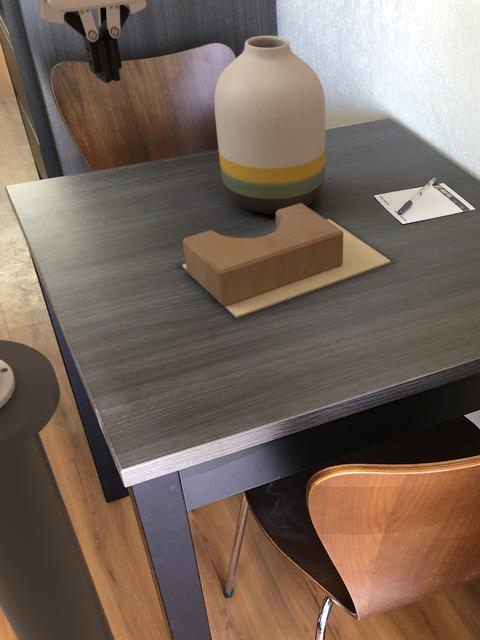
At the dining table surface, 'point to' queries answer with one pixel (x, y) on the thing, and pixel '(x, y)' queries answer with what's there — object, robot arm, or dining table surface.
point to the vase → (270, 127)
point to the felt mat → (316, 276)
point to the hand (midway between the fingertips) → (107, 78)
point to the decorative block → (264, 255)
